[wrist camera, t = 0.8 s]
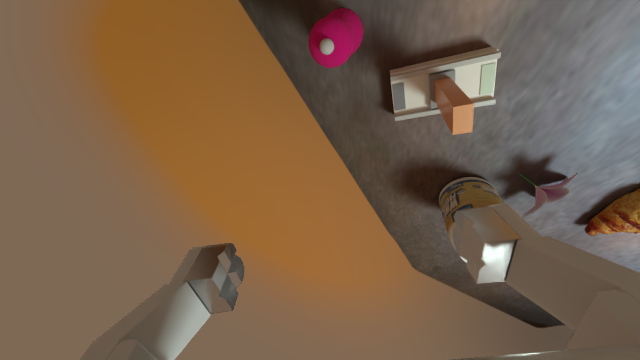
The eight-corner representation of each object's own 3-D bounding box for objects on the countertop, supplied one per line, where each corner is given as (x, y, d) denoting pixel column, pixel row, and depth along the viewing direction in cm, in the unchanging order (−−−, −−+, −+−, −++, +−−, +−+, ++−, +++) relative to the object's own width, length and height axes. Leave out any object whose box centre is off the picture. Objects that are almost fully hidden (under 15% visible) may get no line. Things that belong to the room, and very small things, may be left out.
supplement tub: (448, 170, 58) (469, 222, 44) (504, 179, 56) (543, 235, 43) (430, 209, 65) (444, 263, 51) (480, 217, 64) (507, 276, 50)
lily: (500, 202, 61) (537, 233, 54) (493, 181, 53) (535, 214, 47) (547, 171, 58) (592, 199, 51) (547, 143, 50) (600, 172, 44)
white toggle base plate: (491, 46, 43) (501, 50, 40) (486, 98, 48) (495, 105, 44) (389, 70, 48) (390, 75, 45) (394, 114, 53) (395, 122, 49)
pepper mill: (334, 59, 49) (312, 88, 33) (318, 20, 46) (285, 30, 30) (370, 42, 46) (365, 64, 30) (355, -2, 43) (341, -3, 27)
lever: (453, 68, 43) (481, 94, 31) (453, 102, 46) (478, 137, 34) (428, 74, 44) (446, 100, 33) (429, 107, 47) (446, 142, 36)
